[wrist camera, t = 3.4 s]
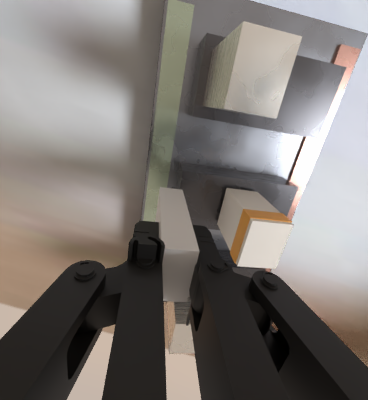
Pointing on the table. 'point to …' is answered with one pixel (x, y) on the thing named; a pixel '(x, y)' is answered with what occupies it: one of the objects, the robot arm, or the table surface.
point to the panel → (240, 112)
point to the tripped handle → (253, 229)
